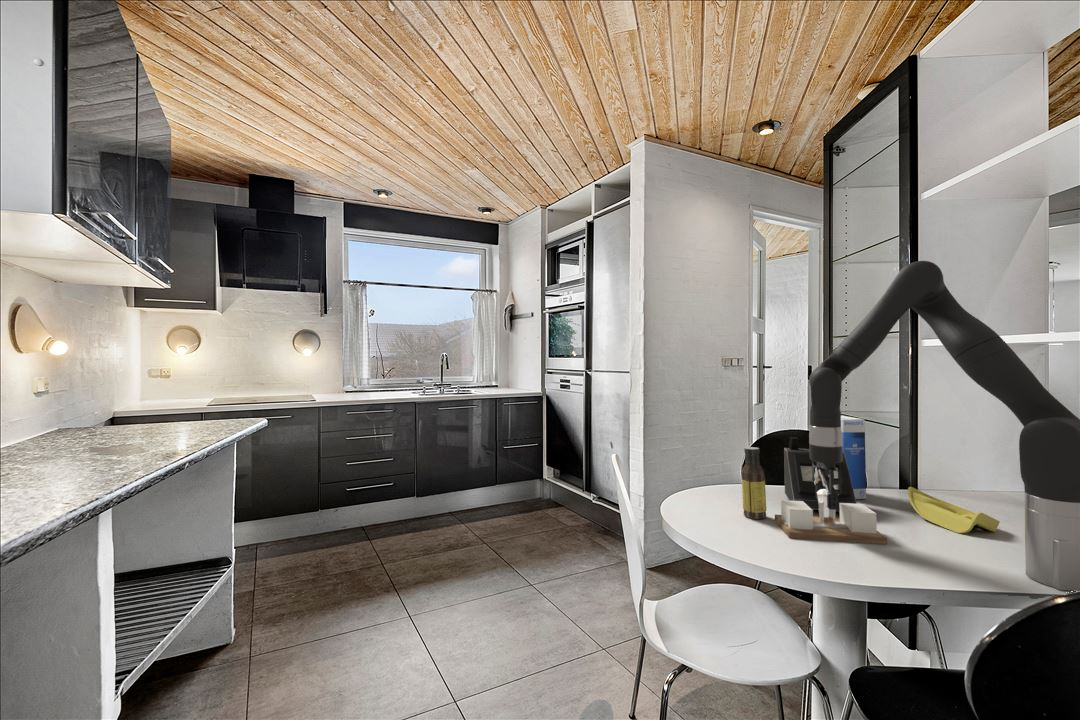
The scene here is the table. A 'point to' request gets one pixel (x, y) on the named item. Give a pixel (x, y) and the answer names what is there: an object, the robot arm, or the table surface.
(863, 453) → the string lights box
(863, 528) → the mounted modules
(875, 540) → the rail board
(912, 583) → the table surface
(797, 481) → the voltmeter
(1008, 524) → the table surface
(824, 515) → the milkshake
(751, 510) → the sauce bottle
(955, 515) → the plastic component
